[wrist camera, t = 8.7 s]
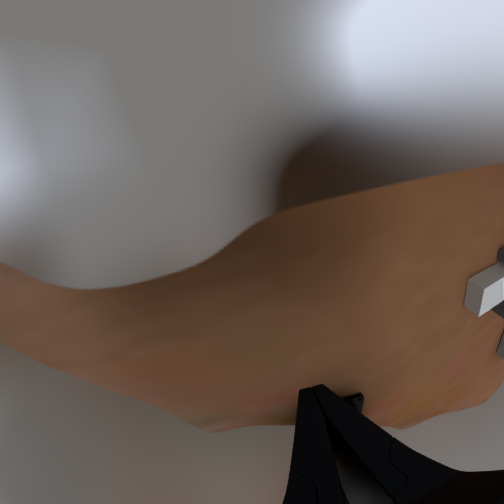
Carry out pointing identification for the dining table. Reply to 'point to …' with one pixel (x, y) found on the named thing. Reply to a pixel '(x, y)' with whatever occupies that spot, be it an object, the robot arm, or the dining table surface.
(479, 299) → the slat
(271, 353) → the dining table surface
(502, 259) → the end cap
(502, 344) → the coffee box
